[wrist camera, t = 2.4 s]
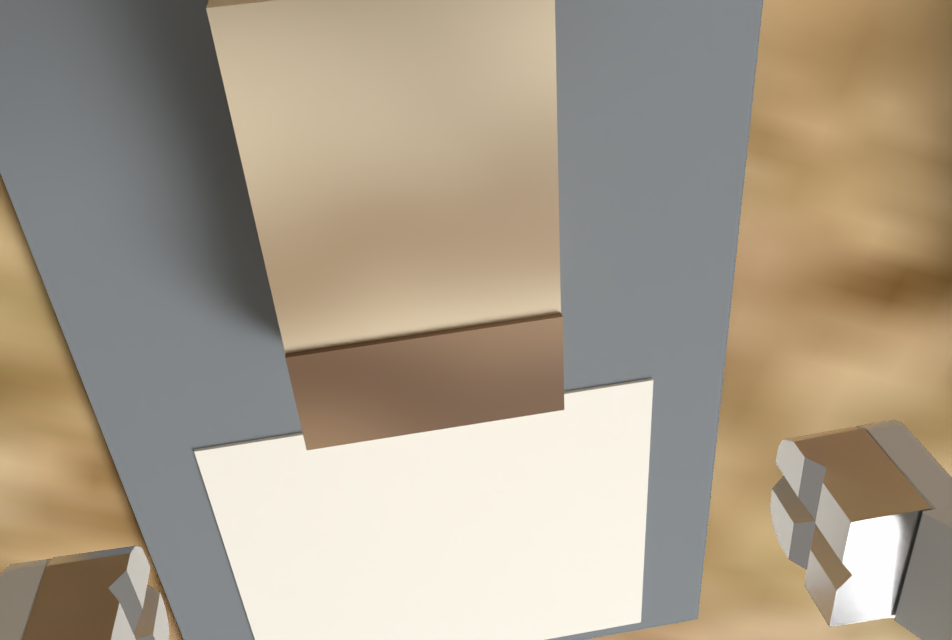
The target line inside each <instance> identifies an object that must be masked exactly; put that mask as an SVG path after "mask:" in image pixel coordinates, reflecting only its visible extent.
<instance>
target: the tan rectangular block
mask: <svg viewBox="0 0 952 640" xmlns="http://www.w3.org/2000/svg"><path fill="white" fill-rule="evenodd" d="M206 10H207V14H208V19H209V23H210V27H211V32H212V36H213V40H214V45H215V49H216V54H217V58H218V62H219V67H220V71H221V75H222V80H223V84H224V88H225V93H226V97H227V101H228V106H229V110H230V114H231V119H232V123H233V128H234V132H235V136H236V141H237V145H238V149H239V154H240V158H241V162H242V167H243V171H244V175H245V180H246V184H247V188H248V193H249V197H250V202H251V206H252V210H253V215H254V219H255V223H256V228H257V232H258V236H259V241H260V245H261V249H262V254H263V258H264V262H265V267H266V271H267V276H268V280H269V284H270V289H271V293H272V297H273V302H274V306H275V310H276V315H277V319H278V323H279V328H280V332H281V336H282V341H283V345H284V349H285V359H286V363H287V367H288V372H289V376H290V380H291V385H292V389H293V393H294V398H295V402H296V407H297V411H298V415H299V420H300V424H301V428H302V433H303V437H304V441H305V446H306V450H313V449H319V448H326V447H332V446H338V445H345V444H351V443H357V442H364V441H370V440H376V439H383V438H389V437H395V436H402V435H408V434H414V433H421V432H427V431H433V430H440V429H446V428H453V427H459V426H465V425H472V424H478V423H484V422H491V421H497V420H503V419H510V418H516V417H522V416H529V415H535V414H541V413H548V412H554V411H560V410H564V360H563V316H562V314H561V290H560V238H559V185H558V133H557V81H556V29H555V0H209V1H208V4H207V7H206Z"/></svg>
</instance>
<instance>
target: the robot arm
mask: <svg viewBox="0 0 952 640" xmlns="http://www.w3.org/2000/svg"><path fill="white" fill-rule="evenodd" d="M776 464H777V466H778V467H779V469H780V470H781V472H782V473H783V475H784V476H783V477H782V478H781V479H780V480H779V481H778V483H777V484H776V485H775V486H774V487H773V488H772V496H771V506H770V509H771V515H772V521H773V527H774V531H775V533H776V536H777V538H778V541H779V544H780V545H781V547H782V549H783V551H784V552H785V554H786V556H787V558H788V559H789V560H791V561H793V562H794V563H796V564H798V565H800V566H801V567H803V568H805V569H806V570H807V573H806V579H805V585H804V586H805V588H806V589H807V591H808V593H809V594H810V596H811V598H812V599H813V601H814V603H815V604H816V606H817V607H818V609H819V611H820V612H821V614H822V616H823V617H824V619H825V621H826V622H827V624H828V625H829V627H832V626H839V625H845V624H851V623H858V622H864V621H871V620H877V619H883V618H890V617H895V618H894V620H895V621H896V622H897V623H899V624H900V625H902V626H903V627H905V628H906V629H907V630H909V631H910V632H912V633H913V634H915V635H916V636H917V637H919V638H920V639H922V640H952V477H951V476H950V475H949V474H948V473H947V472H946V471H945V469H944V468H943V467H942V466H941V465H940V464H939V463H938V462H937V461H936V459H935V458H934V457H933V456H932V455H931V454H930V453H929V452H928V451H927V450H926V448H925V447H924V446H923V445H922V444H921V443H920V442H919V441H918V440H917V438H916V437H915V436H914V435H913V434H912V433H911V432H910V431H909V430H908V429H907V427H906V426H905V425H904V424H903V423H900V422H898V421H896V420H888V421H883V422H877V423H872V424H866V425H860V426H857V427H851V428H845V429H839V430H834V431H828V432H822V433H816V434H810V435H805V436H799V437H793V438H787V439H783V440H782V442H781V444H780V446H779V447H778V452H777V458H776ZM149 572H150V565H149V563H148V560H147V558H146V556H145V553H144V551H143V549H142V548H140V547H137V546H131V547H124V548H117V549H110V550H102V551H95V552H88V553H81V554H74V555H67V556H60V557H53V558H52V559H46V560H39V561H31V562H23V563H16V564H10V565H9V566H8V567H7V568H6V569H5V570H4V571H3V572H2V574H1V575H0V640H169V623H168V618H167V613H166V608H165V605H164V602H163V599H162V596H161V594H160V592H159V591H157V590H155V589H154V588H152V587H150V586H149V585H147V583H148V577H149Z"/></svg>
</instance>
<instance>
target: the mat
mask: <svg viewBox="0 0 952 640" xmlns="http://www.w3.org/2000/svg"><path fill="white" fill-rule="evenodd" d="M208 1H209V0H0V173H1V176H2V178H3V181H4V184H5V186H6V189H7V191H8V194H9V196H10V199H11V201H12V204H13V206H14V209H15V212H16V214H17V217H18V219H19V222H20V224H21V227H22V229H23V232H24V234H25V237H26V240H27V242H28V245H29V247H30V250H31V252H32V255H33V257H34V260H35V262H36V265H37V268H38V270H39V273H40V275H41V278H42V280H43V283H44V285H45V288H46V290H47V293H48V296H49V298H50V301H51V303H52V306H53V308H54V311H55V313H56V316H57V318H58V321H59V324H60V326H61V329H62V331H63V334H64V336H65V339H66V341H67V344H68V346H69V349H70V352H71V354H72V357H73V359H74V362H75V364H76V367H77V369H78V372H79V374H80V377H81V380H82V382H83V385H84V387H85V390H86V392H87V395H88V397H89V400H90V402H91V405H92V408H93V410H94V413H95V415H96V418H97V420H98V423H99V425H100V428H101V430H102V433H103V436H104V438H105V441H106V443H107V446H108V448H109V451H110V453H111V456H112V458H113V461H114V464H115V466H116V469H117V471H118V474H119V476H120V479H121V481H122V484H123V486H124V489H125V492H126V494H127V497H128V499H129V502H130V504H131V507H132V509H133V512H134V514H135V517H136V520H137V522H138V525H139V527H140V530H141V532H142V535H143V537H144V540H145V542H146V545H147V548H148V550H149V553H150V555H151V558H152V560H153V563H154V565H155V568H156V570H157V573H158V576H159V578H160V581H161V583H162V586H163V588H164V591H165V593H166V596H167V598H168V601H169V604H170V606H171V609H172V611H173V614H174V616H175V619H176V621H177V624H178V626H179V629H180V632H181V634H182V637H183V639H184V640H585V639H591V638H596V637H602V636H607V635H613V634H618V633H623V632H629V631H634V630H640V629H645V628H651V627H656V626H662V625H667V624H673V623H678V622H684V621H689V620H695V619H698V611H699V602H700V592H701V583H702V573H703V564H704V555H705V545H706V536H707V526H708V517H709V507H710V498H711V488H712V479H713V469H714V460H715V451H716V441H717V432H718V422H719V413H720V403H721V394H722V384H723V375H724V366H725V356H726V347H727V337H728V328H729V318H730V309H731V299H732V290H733V280H734V271H735V262H736V252H737V243H738V233H739V224H740V214H741V205H742V195H743V186H744V176H745V167H746V158H747V148H748V139H749V129H750V120H751V110H752V101H753V91H754V82H755V73H756V63H757V54H758V44H759V35H760V25H761V16H762V6H763V0H555V29H556V81H557V133H558V185H559V238H560V290H561V314H562V316H563V360H564V410H560V411H554V412H548V413H541V414H535V415H529V416H522V417H516V418H510V419H503V420H497V421H491V422H484V423H478V424H472V425H465V426H459V427H453V428H446V429H440V430H433V431H427V432H421V433H414V434H408V435H402V436H395V437H389V438H383V439H376V440H370V441H364V442H357V443H351V444H345V445H338V446H332V447H326V448H319V449H313V450H306V446H305V441H304V437H303V433H302V428H301V424H300V420H299V415H298V411H297V407H296V402H295V398H294V393H293V389H292V385H291V380H290V376H289V372H288V367H287V363H286V359H285V349H284V345H283V341H282V336H281V332H280V328H279V323H278V319H277V315H276V310H275V306H274V302H273V297H272V293H271V289H270V284H269V280H268V276H267V271H266V267H265V262H264V258H263V254H262V249H261V245H260V241H259V236H258V232H257V228H256V223H255V219H254V215H253V210H252V206H251V202H250V197H249V193H248V188H247V184H246V180H245V175H244V171H243V167H242V162H241V158H240V154H239V149H238V145H237V141H236V136H235V132H234V128H233V123H232V119H231V114H230V110H229V106H228V101H227V97H226V93H225V88H224V84H223V80H222V75H221V71H220V67H219V62H218V58H217V54H216V49H215V45H214V40H213V36H212V32H211V27H210V23H209V19H208V14H207V10H206V7H207V4H208Z"/></svg>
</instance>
